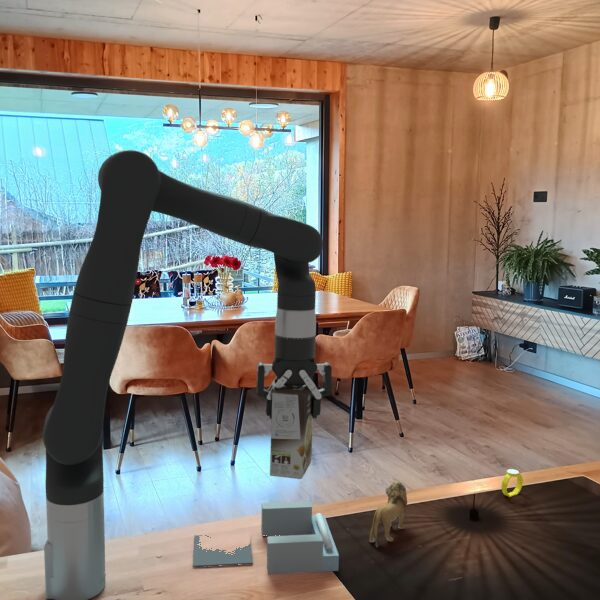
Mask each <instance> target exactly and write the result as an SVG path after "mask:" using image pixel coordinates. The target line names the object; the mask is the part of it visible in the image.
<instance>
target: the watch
mask: <svg viewBox="0 0 600 600" xmlns="http://www.w3.org/2000/svg"><path fill="white" fill-rule="evenodd" d="M512 477H514V478H515V477H516V478H517V479H516V480H517V481H516V485H515V488H514V489H513V490H512V491H510V492H508V484H509V482H510V480H511V478H512ZM523 481H524V480H523V476H522V474H521V473H520V472H519V470H517V469H513V468H509V469H506V474H505V475H504V476H503V479H502V482H501V491H502V493H503V495H504V496H506V497H508V498H512V497H514V496H517V495H519V494H520V492H521V490H522V487H523V485H524V484H523V483H524V482H523Z"/></svg>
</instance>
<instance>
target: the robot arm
mask: <svg viewBox="0 0 600 600" xmlns="http://www.w3.org/2000/svg"><path fill="white" fill-rule="evenodd" d="M97 181H98V182H97V183H98V186H99V189H100V199H99V208H98V213H97V221H96V225H95V230H94V234H93V237H92V241H91V243H90V245H89V248H88V250H87V253H86V254H85V258H84V260H83V263H82V264H81V268H80V270H79V272H78V273H79V274H78V276H77V280H76V282H75V286H74V290H73V293H72V298H71V303H70V307H69V312H68V317H67V323H66V324H67V325H66V329H65V330H66V333H65V339H64V351H63V365H62V374H61V379H60V381H59V382H60V383H59V387H58V390H57V392H56V397H55V399H54V403H53V405H52V406H51V407H50V408H49V410H48V411H47V413H46V416H45V419H44V423H43V424H44V425H43V430H42V441H43V445H44V448H45V504H46V507H45V508H46V531H47V532H46V534H47V535H46V537H47V540H46V541H45V543H44V545H43V552H44V553H43V556H44V558H43V559H44V584H45V586H44V587H45V588H44V589H45V599H46V600H49V599H50V600H89V599H92V598H94V597H96V596H98V595H99V594H100V593H102V592H103V590H104V589H105V586H106V576H107V575H106V545H105V544H106V542H105V541H106V539H105V538H106V537H105V506H104V505H105V499H104V498H105V497H104V496H105V495H104V491H105V490H104V486H105V483H104V456H103V455H104V452H103V451H104V450H103V446H104V445H103V433H104V430H103V429H104V418H105V408H106V402H107V395H108V388H109V385H110V380H111V378H112V377H111V376H112V374H113V372H114V368H115V366H116V362H117V360H118V357H119V353H120V349H121V347H122V343H123V339H124V336H125V333H126V328H127V326H128V322H129V321H128V320H129V317H130V313H131V310H132V309H131V308H132V304H133V300H134V292H135V287H136V282H137V279H138V271H139V262H140V255H141V249H142V243H143V239H144V237H145V236H144V235H145V233H146V230H147V226H148V223H149V219H150V217H151V214H152V212H155V213H159V214H163V215H167V216H169V217H173V218H175V219H178V220H181V221H184V222H187V223H189V224H191V225H195V226H197V227H199V228H200V229H204V230H206V231H209V232H210V233H213V234H215V235H218V236H221V237H223V238H226V239H228V240H231V241H234V242H237V243H239V244H242V245H245V246H248V247H251V248H256V249H261V250H266V251H268V252H270V253H272V254H273V258H274V267H275V274H276V280H277V302H276V303H277V304H276V314H275V321H274V322H275V323H274V359H273V361H272V363H263V361H259V362H257V367H256V389H255V390H256V394H257V397H259V398H260V397H262V398H264V399H265V414H266V416H268V417H269V419H270V420H272V392H273V391H274V390H275V389H276V390H280V389H281V388H282V386H283V385H285V386H286V387H291V386H298V387H303V386H304V385H307V386H308V388H309V389H310V391H311V392H312V393H313V397H312V418H313V419H317V418H318V416H320V415H321V410H322V409H321V406H322V405H321V404H322V403H321V402H322V399H323V398H324V397H330V396H331V395H332V378H333V377H332V372H333V371H332V369H333V368H332V366H331V364H330V363H329V362H327V361H325V362H324V363H316V335H317V334H316V333H317V316H316V298H317V297H316V295H317V294H316V293H317V292H316V290H317V289H316V287H317V286H316V282H315V280H314V279H313V277H312V276H311V274H310V265H309V263H312V262H314V261H316V260H317V259H318V258H319V257H320V255H321V254H322V252H323V249H324V240H323V237H322V235H321V233H320V232H319V231H318V229H317V228H315V227H314V226H312V225H310V224H307V223H305V222H302V221H300V220H299V221H298V220H296V219H292V218H289V217H285V216H282V215H278V214H275V213H273V212H270V211H268V210H266V209H265V208H262V207H260V206H257V205H254V204H251V203H249V202H246V201H244V200H240V199H239V198H235V197H233V196H230V195H227V194H222V193H219V192H216V191H212V190H208V189H205V188H202V187H199V186H195V185H192V184H189V183H186V182H185V181H181V180H179V179H177V178H175V177H174V176H173V177H172V176H170V175H168V174H167V173H165V172H163V171H161V170H160V169H159V168H158V166H157V163H155V161H154V160H153V158H151V156H150V155H148V154H147V153H144V152H143V151H140V150H136V149H125V150H124V149H123V150H120V151H118V152H115V153H113V154H112V155H109V156H108V157H107V158H106V159H105V160H104V161H103V162H102V164H101V166H100V168H99V170H98V176H97ZM270 371H272V372H273V374H274V375H275V378H274V379H273V380H272V382H271V384H270V386H269V387H268V388H267V389H266V388H265V377H266V376H268V375H269V373H270ZM317 371H319V374H320V375H321V376H322V388H320V389H319V388H318V387H317V386H316V384H315V383H314V380H313V379H312V377H313V376H314V375H315V373H316V372H317Z"/></svg>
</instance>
